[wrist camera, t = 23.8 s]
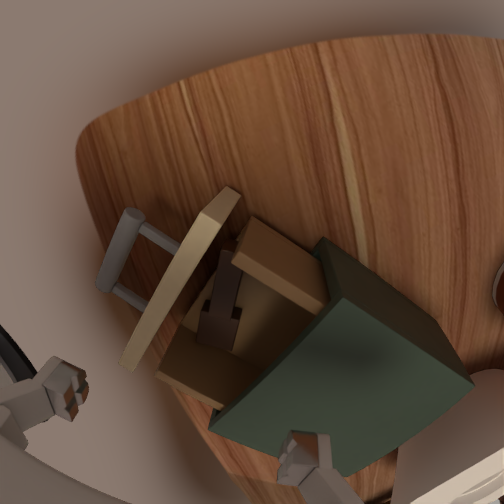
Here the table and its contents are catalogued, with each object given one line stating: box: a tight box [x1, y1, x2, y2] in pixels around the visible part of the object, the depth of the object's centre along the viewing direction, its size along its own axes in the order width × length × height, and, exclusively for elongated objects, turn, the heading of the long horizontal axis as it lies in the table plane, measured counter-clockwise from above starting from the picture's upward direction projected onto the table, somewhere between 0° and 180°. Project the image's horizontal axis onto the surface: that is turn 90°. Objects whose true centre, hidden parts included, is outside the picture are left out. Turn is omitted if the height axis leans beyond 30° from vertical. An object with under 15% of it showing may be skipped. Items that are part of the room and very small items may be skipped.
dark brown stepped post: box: [196, 239, 243, 351], centre depth 21 cm, size 8×3×2 cm, turn 167°
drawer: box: [95, 186, 331, 411], centre depth 20 cm, size 17×12×7 cm
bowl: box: [390, 369, 504, 504], centre depth 23 cm, size 24×24×12 cm
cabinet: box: [208, 237, 475, 477], centre depth 21 cm, size 14×14×9 cm
